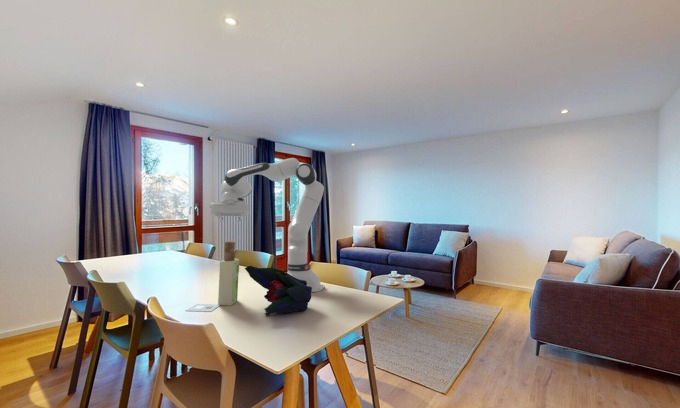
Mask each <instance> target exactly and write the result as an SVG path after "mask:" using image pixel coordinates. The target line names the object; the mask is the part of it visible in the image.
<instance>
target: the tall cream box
mask: <svg viewBox="0 0 680 408" xmlns="http://www.w3.org/2000/svg"><path fill="white" fill-rule="evenodd" d="M239 272H240V259H239V258H234V261H224V259H222V260H220V262H219V276H218V277H219V278H218V294H217V295H218V299H217V304H218V305H220V306H233V304H235V303H236V302H237V301H238V294H239V293H238V292H239V291H238V290H239Z"/></svg>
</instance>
